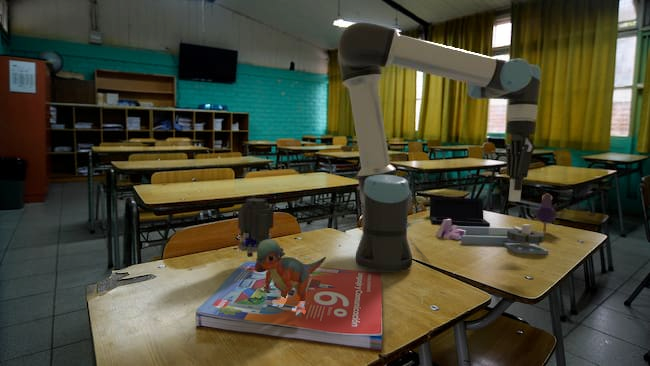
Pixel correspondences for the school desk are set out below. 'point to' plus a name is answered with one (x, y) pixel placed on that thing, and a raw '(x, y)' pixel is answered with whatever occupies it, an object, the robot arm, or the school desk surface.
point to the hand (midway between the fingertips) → (514, 200)
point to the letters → (450, 230)
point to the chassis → (501, 238)
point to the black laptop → (458, 211)
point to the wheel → (526, 236)
